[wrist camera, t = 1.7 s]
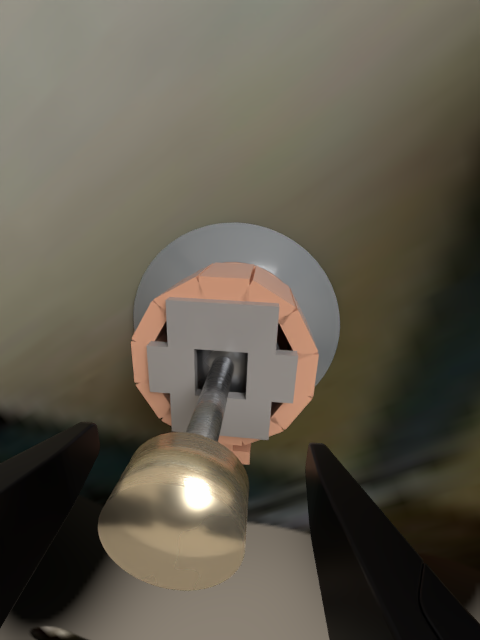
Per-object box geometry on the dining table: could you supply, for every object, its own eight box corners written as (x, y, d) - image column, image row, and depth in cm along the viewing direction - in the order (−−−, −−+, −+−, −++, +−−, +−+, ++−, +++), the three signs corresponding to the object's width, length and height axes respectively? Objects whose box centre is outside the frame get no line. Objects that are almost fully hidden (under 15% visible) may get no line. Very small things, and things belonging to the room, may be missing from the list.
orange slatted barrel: (293, 422, 19) (302, 493, 14) (170, 412, 19) (138, 476, 14) (311, 265, 15) (331, 285, 11) (163, 258, 16) (118, 274, 11)
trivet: (323, 419, 19) (325, 425, 18) (144, 404, 20) (141, 409, 19) (353, 226, 15) (356, 227, 15) (129, 218, 16) (124, 218, 15)
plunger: (277, 415, 14) (289, 636, 7) (170, 406, 14) (66, 605, 7) (287, 311, 12) (317, 449, 5) (165, 304, 13) (21, 422, 5)
